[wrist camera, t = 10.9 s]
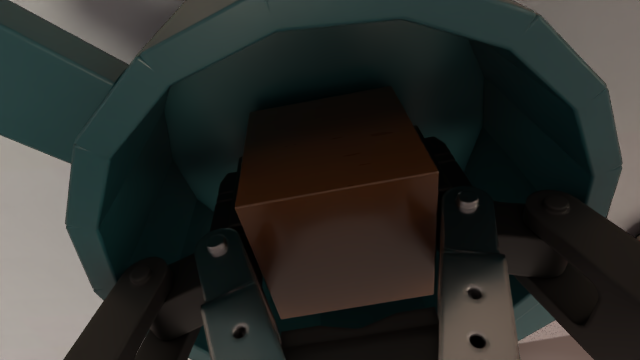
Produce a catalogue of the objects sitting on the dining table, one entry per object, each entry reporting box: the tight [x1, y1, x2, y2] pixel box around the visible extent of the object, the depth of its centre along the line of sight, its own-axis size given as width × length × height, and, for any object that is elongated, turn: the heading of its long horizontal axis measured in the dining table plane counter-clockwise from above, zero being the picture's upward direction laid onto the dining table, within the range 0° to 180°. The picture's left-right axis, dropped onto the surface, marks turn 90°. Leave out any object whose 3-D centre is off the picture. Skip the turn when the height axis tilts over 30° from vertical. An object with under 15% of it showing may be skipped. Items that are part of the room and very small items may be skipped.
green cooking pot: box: [0, 0, 622, 360], centre depth 12 cm, size 13×19×6 cm
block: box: [235, 86, 439, 319], centre depth 12 cm, size 5×5×5 cm
